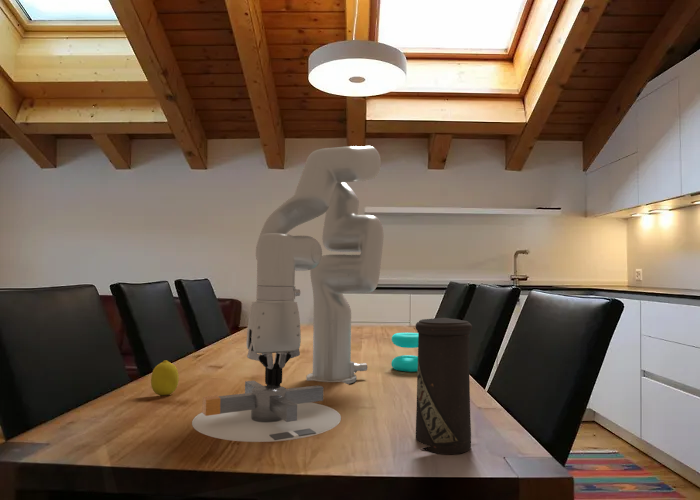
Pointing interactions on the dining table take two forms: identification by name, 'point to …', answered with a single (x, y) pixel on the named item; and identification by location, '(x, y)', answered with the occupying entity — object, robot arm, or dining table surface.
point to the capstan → (264, 402)
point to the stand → (268, 425)
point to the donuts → (405, 361)
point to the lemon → (164, 378)
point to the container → (443, 385)
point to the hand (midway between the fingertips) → (273, 387)
